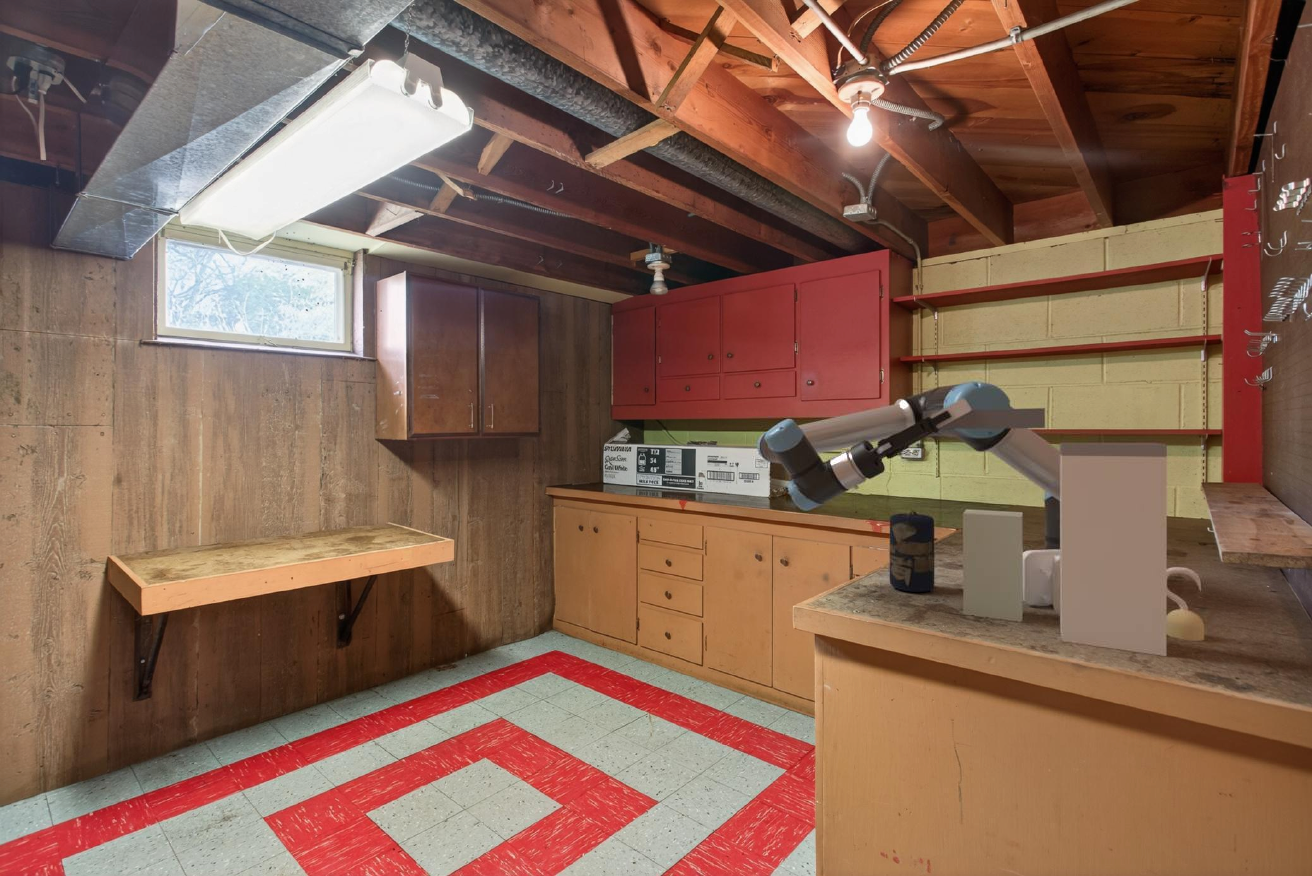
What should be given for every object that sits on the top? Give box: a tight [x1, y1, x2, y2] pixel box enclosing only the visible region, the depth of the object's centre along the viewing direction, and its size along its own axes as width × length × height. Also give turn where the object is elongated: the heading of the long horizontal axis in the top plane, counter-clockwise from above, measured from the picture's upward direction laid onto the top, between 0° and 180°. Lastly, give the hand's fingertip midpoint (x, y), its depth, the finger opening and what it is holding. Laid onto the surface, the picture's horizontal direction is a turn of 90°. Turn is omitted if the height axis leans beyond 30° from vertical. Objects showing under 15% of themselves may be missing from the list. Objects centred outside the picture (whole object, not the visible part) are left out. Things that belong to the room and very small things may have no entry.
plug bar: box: [923, 407, 1046, 429], centre depth 115 cm, size 4×20×4 cm, turn 58°
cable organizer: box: [1023, 549, 1060, 615], centre depth 123 cm, size 15×11×12 cm
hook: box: [1166, 566, 1205, 642], centre depth 108 cm, size 6×5×12 cm
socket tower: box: [1059, 442, 1168, 657], centre depth 105 cm, size 8×14×34 cm, turn 58°
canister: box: [888, 510, 935, 593], centre depth 141 cm, size 10×10×18 cm
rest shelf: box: [962, 508, 1024, 623], centre depth 122 cm, size 7×10×20 cm
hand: (967, 405), depth 116 cm, fingers closed on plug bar, 3 cm apart
